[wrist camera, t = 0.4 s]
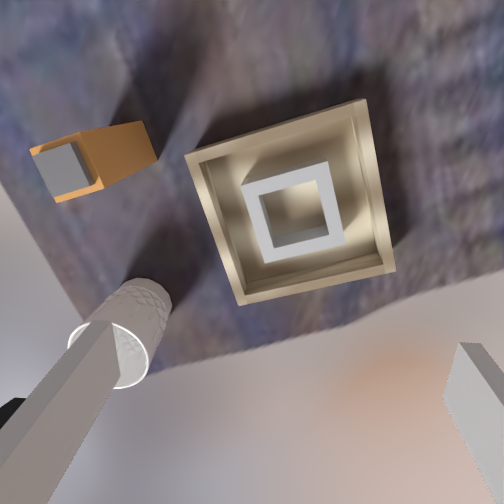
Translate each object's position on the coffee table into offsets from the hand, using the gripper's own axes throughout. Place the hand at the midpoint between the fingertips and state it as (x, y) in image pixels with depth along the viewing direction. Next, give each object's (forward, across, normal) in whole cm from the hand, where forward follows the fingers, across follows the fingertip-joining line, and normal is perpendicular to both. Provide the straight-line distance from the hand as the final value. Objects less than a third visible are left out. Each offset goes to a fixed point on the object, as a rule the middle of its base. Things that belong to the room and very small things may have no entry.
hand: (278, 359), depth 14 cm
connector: (+26, -15, +4) cm, 30 cm away
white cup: (+26, -16, -14) cm, 33 cm away
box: (+25, +1, -1) cm, 25 cm away
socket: (+25, +1, -1) cm, 25 cm away
